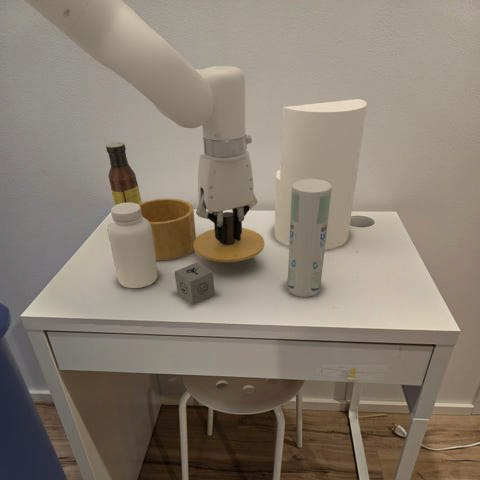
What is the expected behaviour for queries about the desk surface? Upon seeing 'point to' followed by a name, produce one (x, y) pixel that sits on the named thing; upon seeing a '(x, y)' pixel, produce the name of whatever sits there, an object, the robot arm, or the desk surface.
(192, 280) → the dice cube
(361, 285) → the desk surface
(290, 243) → the spray can
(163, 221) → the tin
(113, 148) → the sauce bottle
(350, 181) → the cylinder
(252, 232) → the tan wooden disc
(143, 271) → the pill bottle
